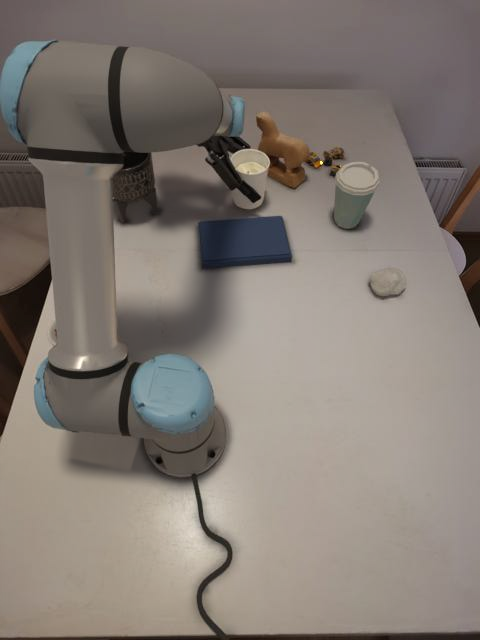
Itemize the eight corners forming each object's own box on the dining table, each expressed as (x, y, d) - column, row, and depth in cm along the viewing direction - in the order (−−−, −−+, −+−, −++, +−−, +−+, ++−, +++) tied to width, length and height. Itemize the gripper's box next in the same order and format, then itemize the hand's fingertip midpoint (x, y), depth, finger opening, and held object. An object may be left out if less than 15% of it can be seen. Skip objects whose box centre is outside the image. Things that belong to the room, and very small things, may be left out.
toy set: (359, 163, 128) (363, 149, 124) (335, 181, 123) (338, 166, 119) (327, 145, 132) (330, 131, 128) (303, 161, 128) (305, 147, 124)
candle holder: (222, 199, 116) (221, 161, 106) (245, 181, 120) (247, 143, 110) (250, 217, 113) (252, 179, 102) (273, 198, 117) (277, 160, 107)
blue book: (291, 261, 106) (292, 255, 104) (202, 268, 105) (201, 262, 103) (281, 221, 114) (282, 215, 112) (198, 227, 112) (198, 221, 110)
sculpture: (261, 155, 129) (264, 106, 117) (307, 179, 124) (315, 131, 111) (247, 165, 127) (249, 116, 114) (294, 190, 121) (301, 142, 108)
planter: (165, 196, 119) (156, 138, 104) (155, 229, 111) (144, 172, 97) (119, 192, 119) (103, 134, 104) (106, 225, 112) (87, 168, 97)
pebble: (377, 268, 106) (383, 254, 102) (408, 283, 103) (415, 269, 99) (361, 290, 102) (367, 277, 98) (393, 307, 99) (400, 294, 95)
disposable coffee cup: (347, 240, 111) (362, 194, 98) (316, 218, 115) (327, 171, 102) (373, 221, 115) (390, 175, 102) (342, 200, 119) (356, 153, 106)
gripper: (198, 106, 109) (257, 168, 121) (175, 159, 97) (242, 222, 109) (218, 88, 104) (277, 155, 116) (196, 142, 92) (264, 209, 104)
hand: (260, 187), depth 112 cm, fingers closed on candle holder, 9 cm apart
